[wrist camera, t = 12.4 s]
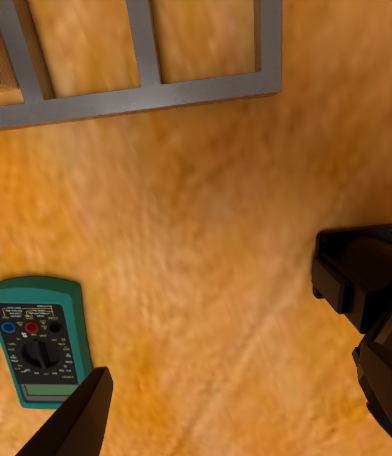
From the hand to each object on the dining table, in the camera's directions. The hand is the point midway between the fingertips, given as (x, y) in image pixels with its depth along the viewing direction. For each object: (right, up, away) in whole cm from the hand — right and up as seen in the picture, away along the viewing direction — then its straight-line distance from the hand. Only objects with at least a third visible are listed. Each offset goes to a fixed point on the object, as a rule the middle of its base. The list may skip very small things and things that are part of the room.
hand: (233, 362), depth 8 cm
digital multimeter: (-16, -6, +16) cm, 23 cm away
